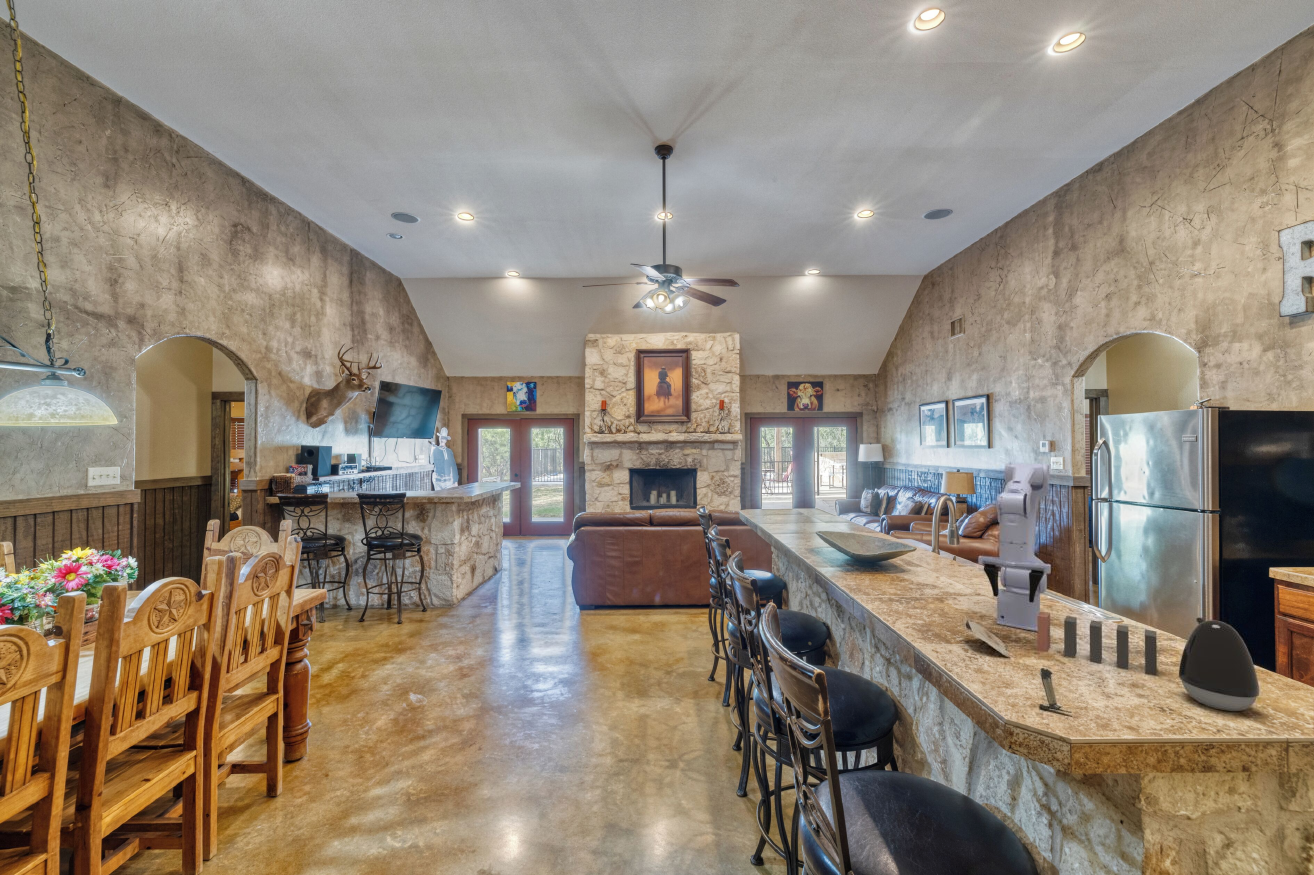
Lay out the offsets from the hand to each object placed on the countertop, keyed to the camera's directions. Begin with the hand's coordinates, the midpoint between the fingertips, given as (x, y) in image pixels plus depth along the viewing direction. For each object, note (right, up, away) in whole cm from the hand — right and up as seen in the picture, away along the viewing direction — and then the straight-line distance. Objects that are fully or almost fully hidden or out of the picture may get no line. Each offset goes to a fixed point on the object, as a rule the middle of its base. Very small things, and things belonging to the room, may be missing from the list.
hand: (1013, 598), depth 130 cm
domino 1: (+8, -10, -8) cm, 15 cm away
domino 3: (+15, -10, -14) cm, 23 cm away
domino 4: (+18, -10, -17) cm, 27 cm away
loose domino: (+4, -10, -4) cm, 12 cm away
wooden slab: (-9, -11, -5) cm, 15 cm away
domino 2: (+11, -10, -11) cm, 19 cm away
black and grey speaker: (+16, -10, -32) cm, 37 cm away
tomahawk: (-10, -10, -28) cm, 32 cm away
